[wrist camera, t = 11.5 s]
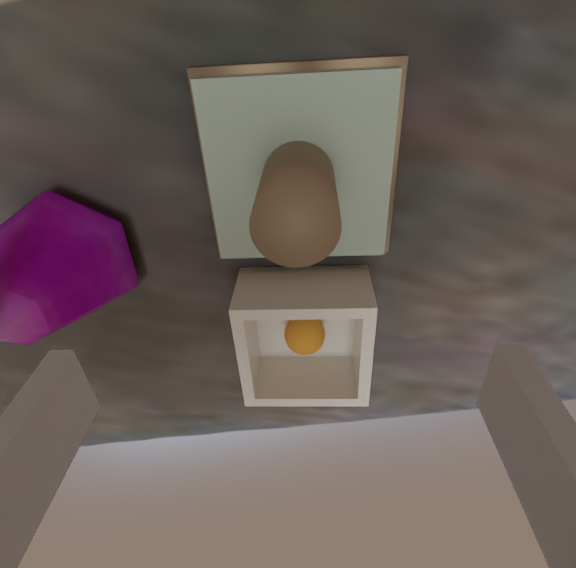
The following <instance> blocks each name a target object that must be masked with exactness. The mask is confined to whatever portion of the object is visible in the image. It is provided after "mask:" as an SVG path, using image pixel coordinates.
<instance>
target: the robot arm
mask: <svg viewBox="0 0 576 568" xmlns="http://www.w3.org/2000/svg"><path fill="white" fill-rule="evenodd" d="M477 405H478V407H479V410H480V412H481V414H482V416H483V419H484V421H485V423H486V425H487V428H488V430H489V432H490V435H491V437H492V439H493V441H494V443H495V446H496V448H497V450H498V453H499V455H500V457H501V459H502V462H503V464H504V466H505V468H506V471H507V473H508V475H509V478H510V480H511V482H512V484H513V487H514V489H515V491H516V494H517V496H518V498H519V500H520V503H521V505H522V507H523V509H524V512H525V514H526V516H527V519H528V520H529V523H530V525H531V528H532V530H533V532H534V534H535V537H536V539H537V541H538V543H539V546H540V548H541V550H542V552H543V555H544V557H545V559H546V561H547V564H548V566H549V568H576V423H575V421H574V420H573V418H572V416H571V415H570V414H569V412H568V411H567V409H566V407H565V406H564V404H563V403H562V401H561V400H560V398H559V397H558V395H557V394H556V392H555V391H554V389H553V388H552V386H551V385H550V383H549V382H548V380H547V379H546V377H545V376H544V374H543V373H542V371H541V370H540V368H539V366H538V365H537V363H536V362H535V360H534V359H533V357H532V356H531V354H530V353H529V351H528V350H527V348H526V347H525V345H524V344H523V343H496V346H495V349H494V352H493V355H492V358H491V361H490V364H489V367H488V370H487V373H486V376H485V379H484V383H483V386H482V389H481V392H480V395H479V398H478V401H477ZM99 408H100V405H99V403H98V400H97V398H96V396H95V394H94V392H93V390H92V388H91V386H90V384H89V382H88V380H87V378H86V376H85V374H84V372H83V369H82V367H81V365H80V363H79V361H78V359H77V357H76V355H75V353H74V351H73V350H49V352H48V353H47V354H46V356H45V357H44V358H43V360H42V361H41V362H40V364H39V365H38V366H37V368H36V369H35V370H34V372H33V373H32V374H31V376H30V377H29V379H28V380H27V381H26V383H25V384H24V385H23V387H22V388H21V389H20V391H19V392H18V393H17V395H16V396H15V397H14V399H13V400H12V401H11V403H10V404H9V405H8V407H7V408H6V409H5V411H4V412H3V413H2V415H1V416H0V568H17V567H18V565H19V563H20V561H21V559H22V558H23V556H24V554H25V552H26V550H27V548H28V546H29V544H30V542H31V540H32V538H33V536H34V534H35V532H36V530H37V528H38V526H39V524H40V522H41V521H42V519H43V517H44V515H45V513H46V511H47V509H48V507H49V505H50V503H51V501H52V499H53V497H54V495H55V493H56V491H57V489H58V488H59V486H60V484H61V482H62V480H63V478H64V476H65V474H66V472H67V470H68V468H69V466H70V464H71V462H72V460H73V458H74V457H75V454H76V452H77V451H78V449H79V447H80V445H81V443H82V441H83V439H84V437H85V435H86V433H87V431H88V429H89V427H90V425H91V423H92V421H93V420H94V418H95V416H96V414H97V412H98V410H99Z"/></svg>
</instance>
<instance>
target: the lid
mask: <svg viewBox="0 0 576 568" xmlns="http://www.w3.org/2000/svg"><path fill="white" fill-rule="evenodd" d="M401 75H402V68H401V67H400V66H385V67H366V68H348V69H329V70H310V71H291V72H273V73H254V74H235V75H217V76H198V77H193V78H192V79H190V81H191V87H192V93H193V99H194V105H195V111H196V116H197V122H198V128H199V134H200V140H201V146H202V152H203V157H204V163H205V169H206V175H207V181H208V187H209V192H210V198H211V204H212V210H213V216H214V222H215V228H216V233H217V239H218V245H219V251H220V257H221V259H232V258H267V259H268V260H270V261H271V262H273V263H275V264H278V265H281V266H285V267H291V268H301V267H307V266H311V265H314V264H316V263H318V262H320V261H322V260H323V259H325V258H326V257H327V256H361V255H384V252H385V241H386V231H387V220H388V210H389V200H390V189H391V179H392V169H393V158H394V148H395V137H396V127H397V117H398V106H399V96H400V85H401Z"/></svg>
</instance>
